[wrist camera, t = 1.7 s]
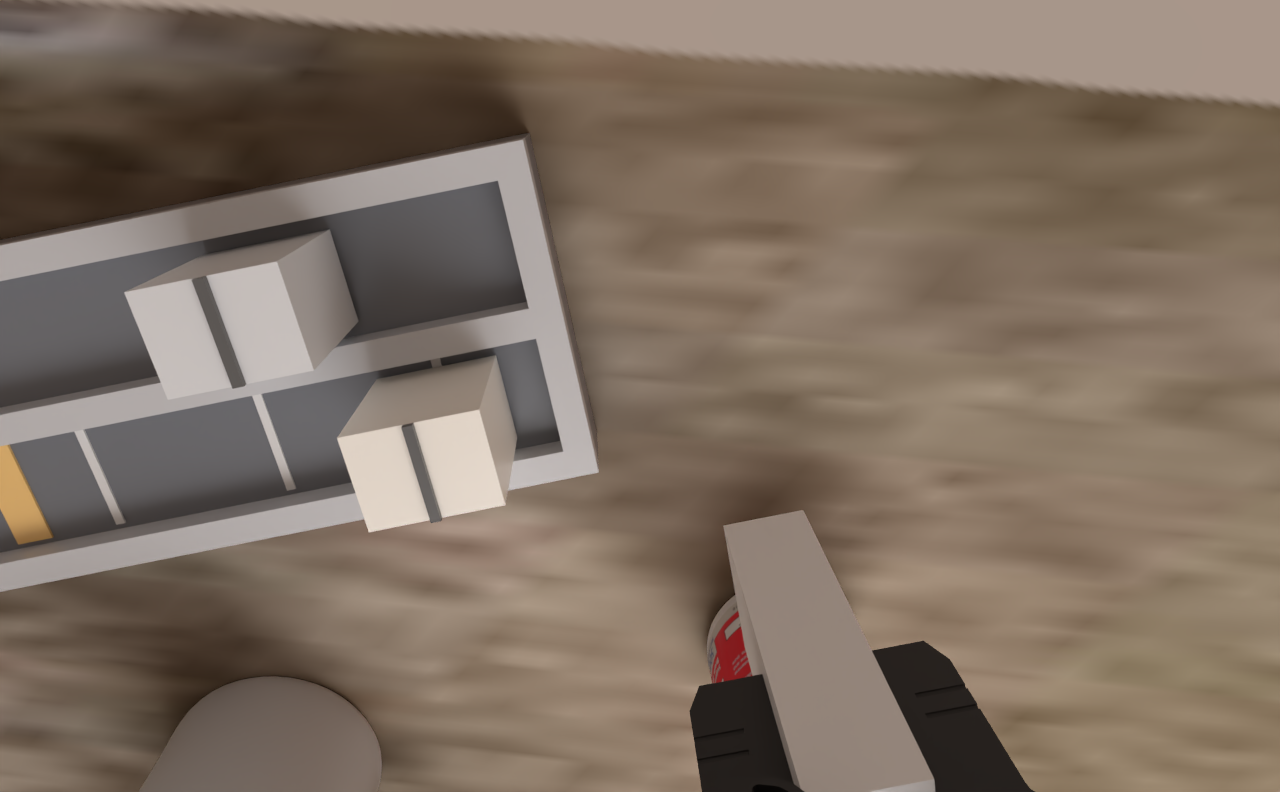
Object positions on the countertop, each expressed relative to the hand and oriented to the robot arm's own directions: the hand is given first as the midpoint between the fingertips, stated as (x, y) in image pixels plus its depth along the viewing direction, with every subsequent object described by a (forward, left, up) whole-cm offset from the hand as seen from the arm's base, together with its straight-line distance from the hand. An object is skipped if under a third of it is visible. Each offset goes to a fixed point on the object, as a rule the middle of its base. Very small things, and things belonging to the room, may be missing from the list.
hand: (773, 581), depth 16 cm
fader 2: (-8, 0, -14) cm, 16 cm away
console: (-17, +2, -16) cm, 24 cm away
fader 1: (-12, +5, -14) cm, 19 cm away
